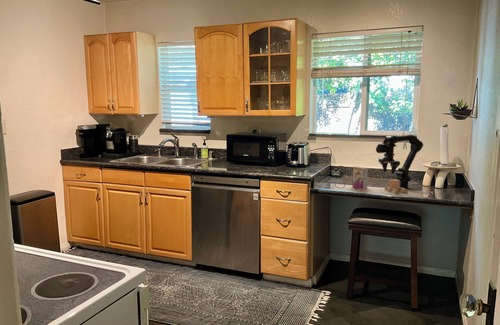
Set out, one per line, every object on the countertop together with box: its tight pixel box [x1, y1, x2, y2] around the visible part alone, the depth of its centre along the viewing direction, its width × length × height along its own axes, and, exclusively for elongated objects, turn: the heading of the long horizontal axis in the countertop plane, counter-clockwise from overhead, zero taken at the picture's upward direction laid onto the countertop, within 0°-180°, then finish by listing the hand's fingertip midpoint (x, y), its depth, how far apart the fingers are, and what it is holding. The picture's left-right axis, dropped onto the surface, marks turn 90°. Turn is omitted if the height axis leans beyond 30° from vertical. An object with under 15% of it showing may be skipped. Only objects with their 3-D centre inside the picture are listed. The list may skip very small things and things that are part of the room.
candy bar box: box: [352, 166, 369, 190], centre depth 311 cm, size 11×5×16 cm, turn 31°
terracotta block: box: [388, 179, 400, 190], centre depth 299 cm, size 5×5×8 cm
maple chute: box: [384, 185, 409, 195], centre depth 296 cm, size 16×8×4 cm, turn 14°
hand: (388, 172), depth 303 cm, fingers open, 9 cm apart
